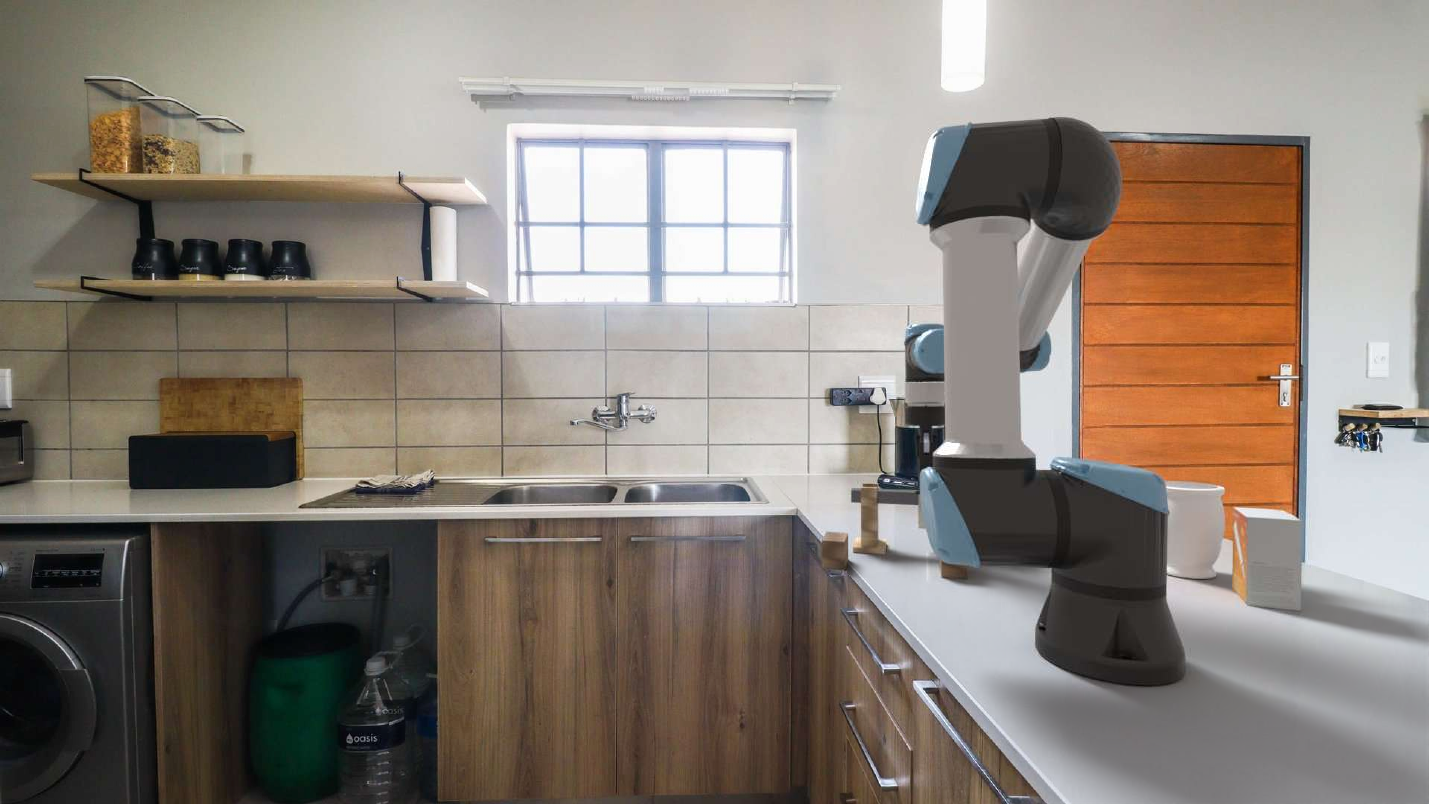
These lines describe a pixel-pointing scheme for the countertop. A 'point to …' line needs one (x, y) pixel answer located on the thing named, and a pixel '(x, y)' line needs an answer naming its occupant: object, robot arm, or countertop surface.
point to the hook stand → (869, 522)
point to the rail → (889, 496)
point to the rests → (838, 556)
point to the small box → (1267, 558)
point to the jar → (1194, 528)
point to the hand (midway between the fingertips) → (925, 525)
